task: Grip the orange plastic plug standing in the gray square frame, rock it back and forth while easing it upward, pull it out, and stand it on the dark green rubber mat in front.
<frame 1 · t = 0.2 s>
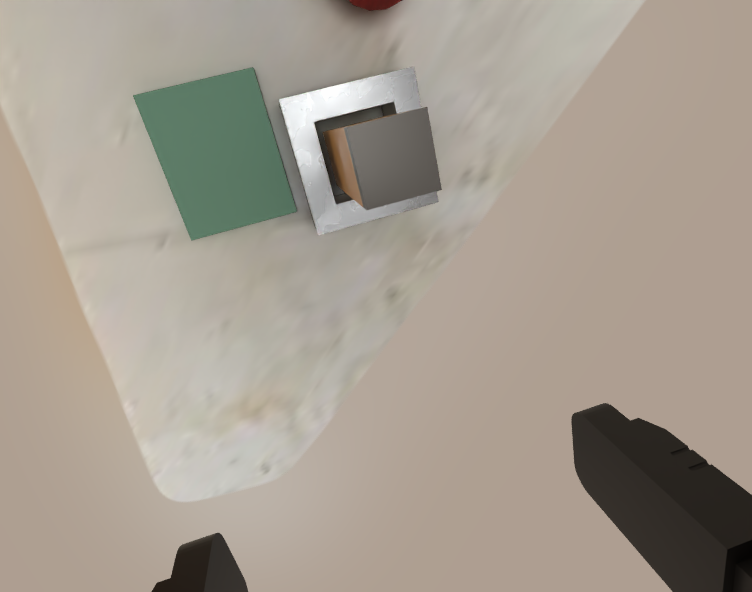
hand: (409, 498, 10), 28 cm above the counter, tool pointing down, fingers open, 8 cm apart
plug: (371, 155, 28), in the gray square frame
mat: (222, 157, 32), on the counter
gray square frame: (355, 152, 34), on the counter
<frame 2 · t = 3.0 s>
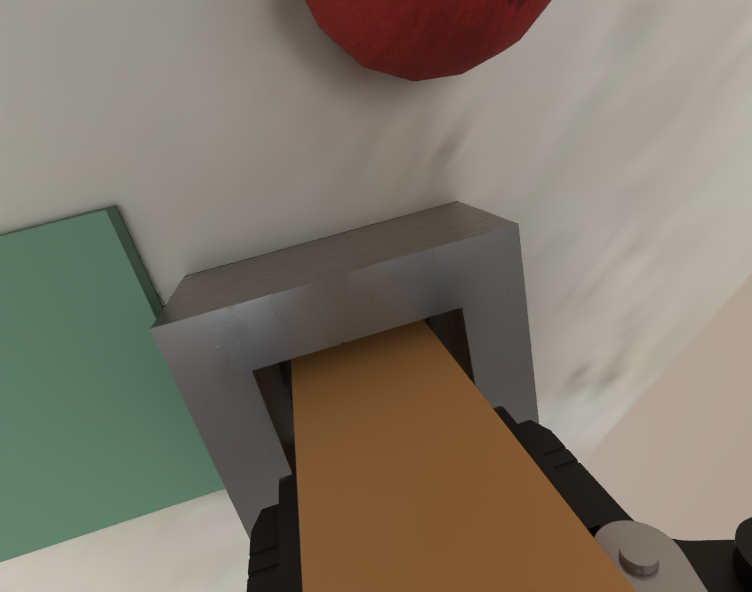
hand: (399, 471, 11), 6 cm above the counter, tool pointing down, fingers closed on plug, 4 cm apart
plug: (408, 493, 10), in the gray square frame, touching gripper
mat: (57, 391, 14), on the counter
gray square frame: (359, 357, 16), on the counter
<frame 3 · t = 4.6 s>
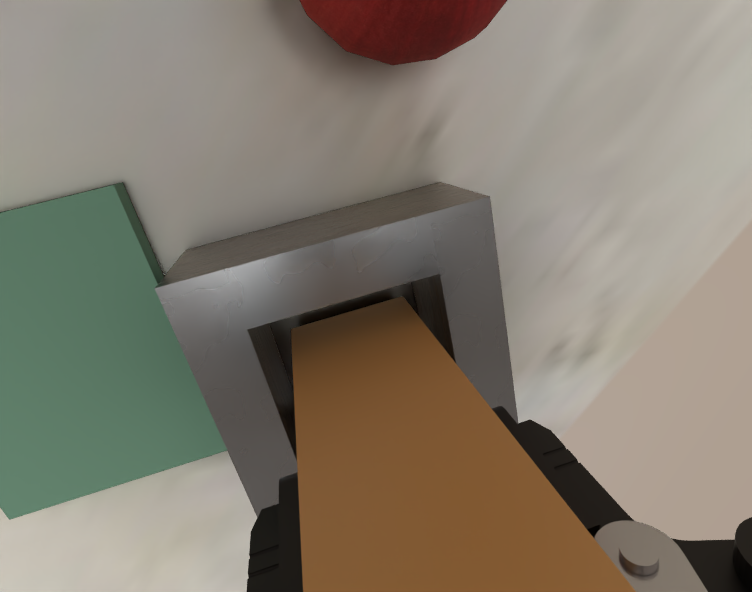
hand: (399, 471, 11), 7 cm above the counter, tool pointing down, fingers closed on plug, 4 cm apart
plug: (409, 494, 10), point 8 cm above the counter, touching gripper, gray square frame
mat: (67, 357, 15), on the counter
gray square frame: (348, 329, 17), on the counter
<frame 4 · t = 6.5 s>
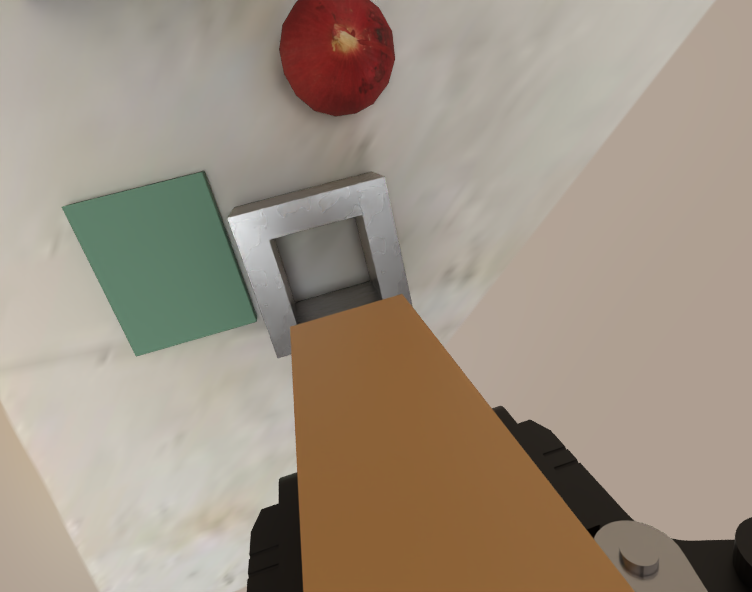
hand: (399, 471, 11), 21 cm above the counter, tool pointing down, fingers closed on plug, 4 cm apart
plug: (409, 493, 10), point 22 cm above the counter, touching gripper
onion: (330, 66, 26), on the counter
mat: (170, 265, 28), on the counter
gray square frame: (322, 255, 30), on the counter
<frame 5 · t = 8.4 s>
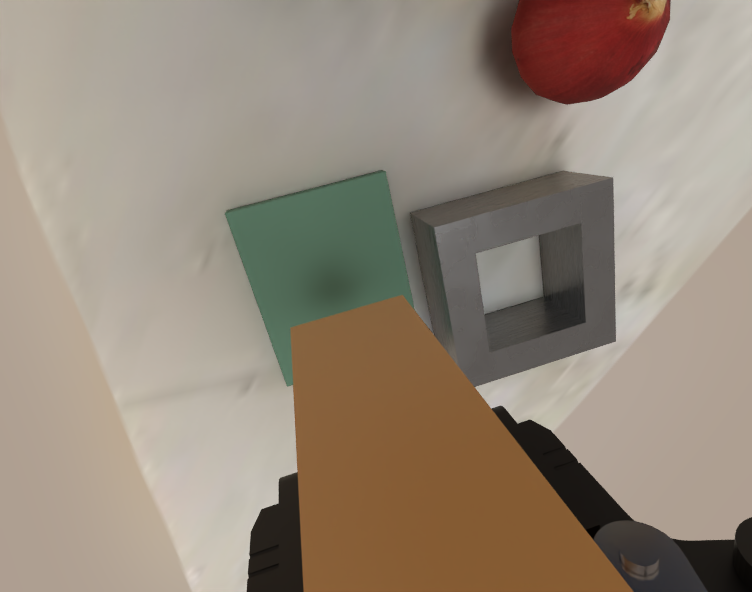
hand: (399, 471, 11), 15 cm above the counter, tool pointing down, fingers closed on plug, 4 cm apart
plug: (409, 494, 10), point 15 cm above the counter, touching gripper
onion: (534, 45, 22), on the counter
mat: (331, 281, 24), on the counter
gray square frame: (497, 267, 26), on the counter
when the fingers open (7 cm above the counter, at t = 10.0 s): plug stays where it is, resting on mat.
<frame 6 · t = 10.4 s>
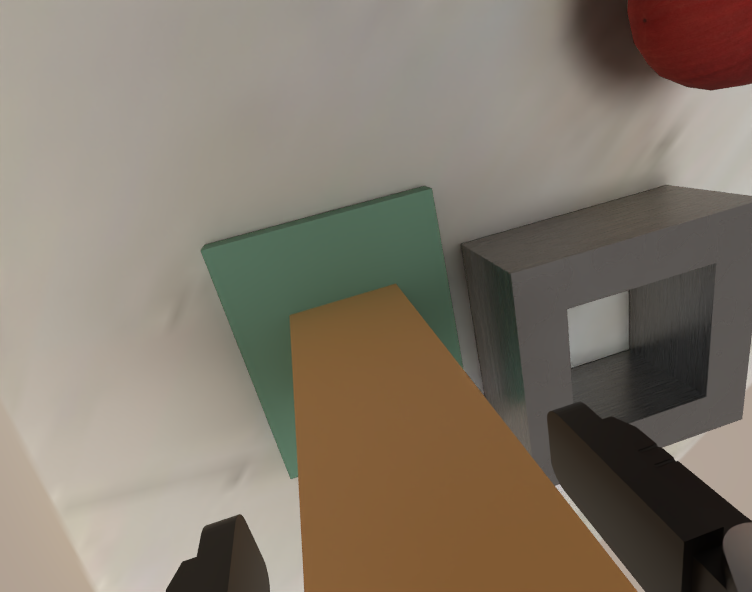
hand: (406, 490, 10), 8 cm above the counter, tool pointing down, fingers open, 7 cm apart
plug: (399, 464, 11), on the mat, point 7 cm above the counter
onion: (642, 8, 16), on the counter
mat: (351, 337, 17), on the counter
gray square frame: (573, 314, 19), on the counter
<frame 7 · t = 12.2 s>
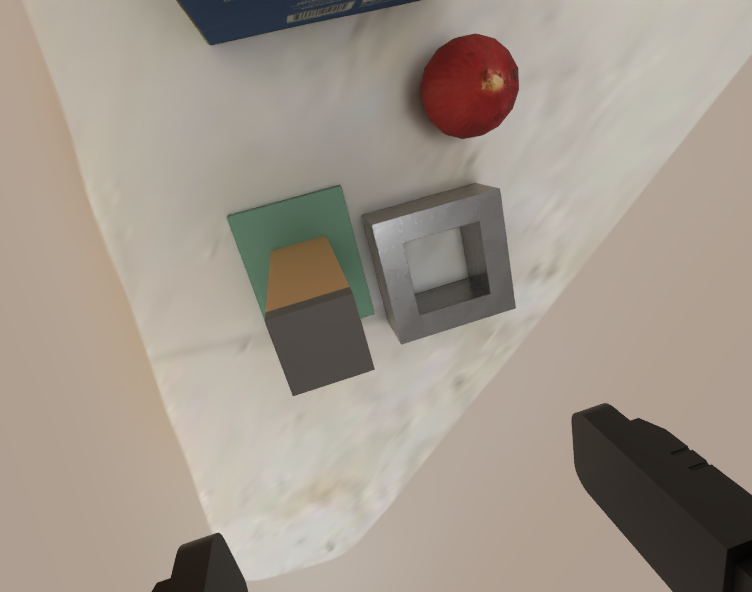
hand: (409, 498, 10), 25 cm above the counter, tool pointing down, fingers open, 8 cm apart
plug: (312, 298, 26), on the mat, point 7 cm above the counter
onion: (447, 94, 31), on the counter
mat: (305, 266, 33), on the counter
gray square frame: (430, 255, 35), on the counter
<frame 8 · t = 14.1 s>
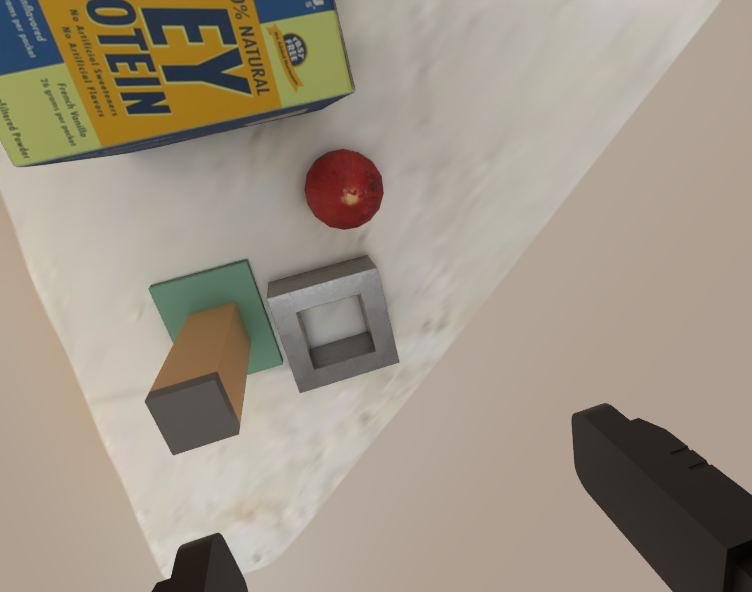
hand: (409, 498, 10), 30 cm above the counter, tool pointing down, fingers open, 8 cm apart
plug: (209, 365, 32), on the mat, point 7 cm above the counter
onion: (338, 184, 37), on the counter
protein box: (206, 57, 32), on the counter
mat: (220, 325, 39), on the counter
gray square frame: (331, 314, 40), on the counter
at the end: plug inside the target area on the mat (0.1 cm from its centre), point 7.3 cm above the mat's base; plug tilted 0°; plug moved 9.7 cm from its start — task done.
